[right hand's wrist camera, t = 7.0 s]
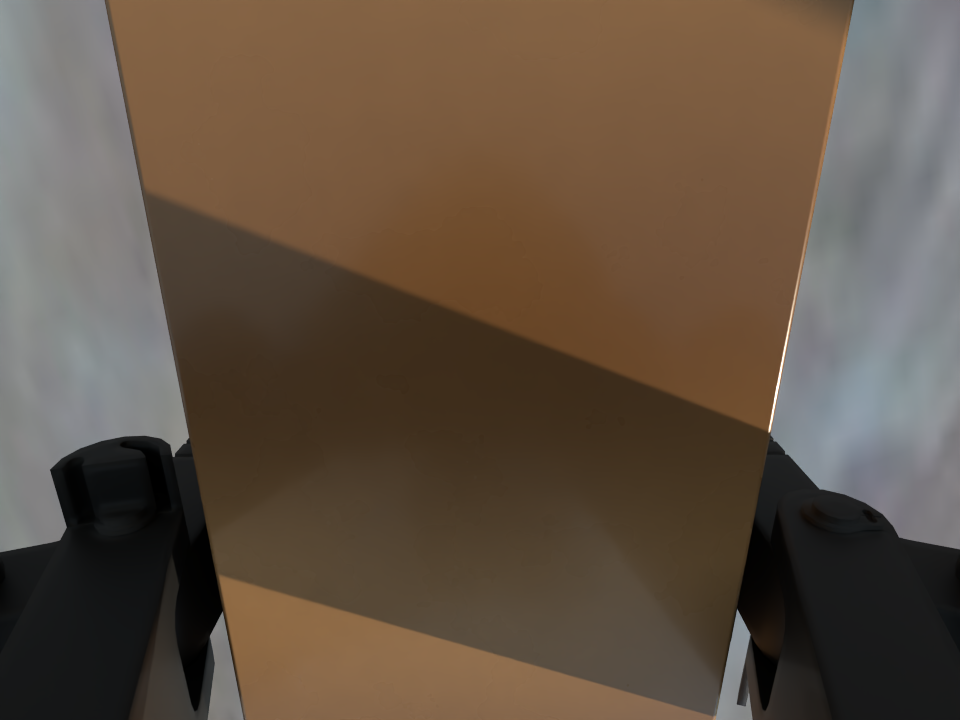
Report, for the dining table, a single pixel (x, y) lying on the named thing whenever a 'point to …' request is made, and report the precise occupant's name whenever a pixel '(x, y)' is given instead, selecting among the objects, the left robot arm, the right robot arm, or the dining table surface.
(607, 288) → the bar
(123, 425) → the dining table surface
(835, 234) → the dining table surface
